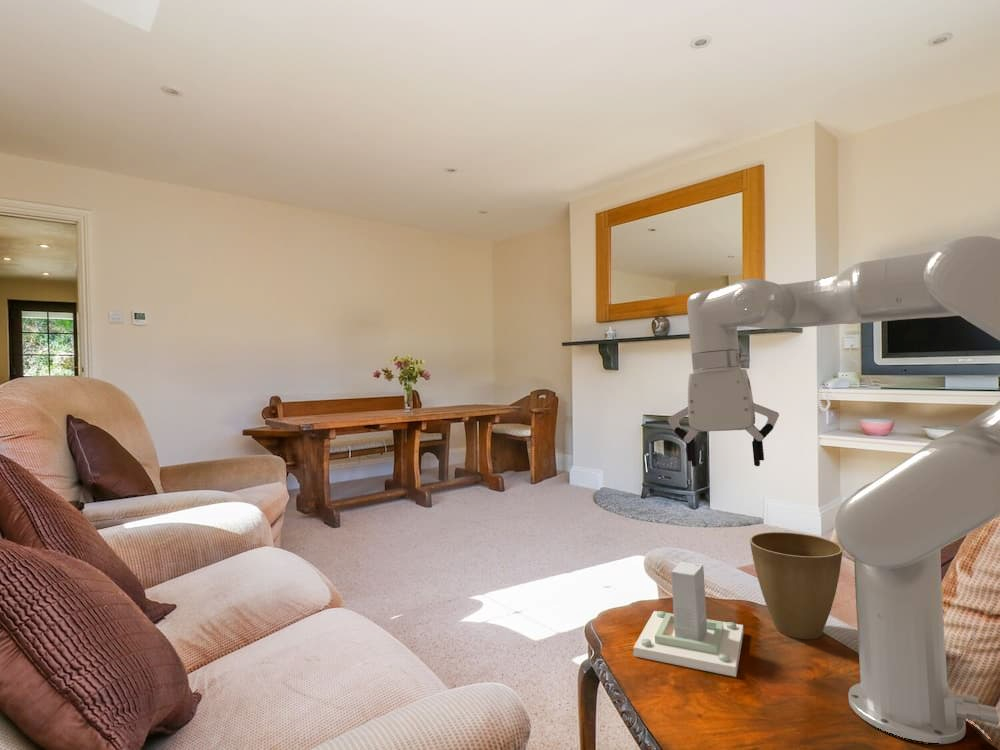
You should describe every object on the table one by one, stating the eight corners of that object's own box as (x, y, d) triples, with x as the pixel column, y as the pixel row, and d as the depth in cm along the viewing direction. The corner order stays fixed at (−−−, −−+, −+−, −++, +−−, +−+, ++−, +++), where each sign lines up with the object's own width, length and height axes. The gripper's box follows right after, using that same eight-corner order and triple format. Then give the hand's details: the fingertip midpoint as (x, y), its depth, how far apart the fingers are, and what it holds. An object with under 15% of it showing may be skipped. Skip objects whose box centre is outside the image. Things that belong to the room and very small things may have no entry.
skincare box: (683, 626, 97) (680, 560, 97) (707, 631, 95) (704, 564, 95) (673, 640, 92) (670, 571, 92) (699, 646, 90) (695, 575, 90)
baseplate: (743, 633, 97) (742, 618, 97) (736, 676, 83) (735, 659, 83) (654, 618, 104) (653, 604, 104) (633, 656, 90) (633, 640, 90)
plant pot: (752, 641, 94) (747, 550, 94) (755, 608, 107) (751, 528, 107) (852, 657, 87) (847, 559, 87) (843, 620, 100) (838, 535, 100)
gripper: (773, 359, 89) (784, 462, 88) (667, 368, 97) (676, 463, 96) (772, 357, 82) (783, 468, 81) (659, 367, 90) (668, 468, 89)
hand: (725, 465), depth 89 cm, fingers open, 9 cm apart
